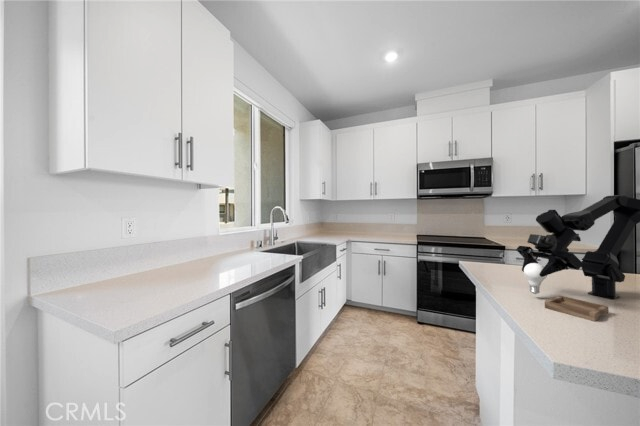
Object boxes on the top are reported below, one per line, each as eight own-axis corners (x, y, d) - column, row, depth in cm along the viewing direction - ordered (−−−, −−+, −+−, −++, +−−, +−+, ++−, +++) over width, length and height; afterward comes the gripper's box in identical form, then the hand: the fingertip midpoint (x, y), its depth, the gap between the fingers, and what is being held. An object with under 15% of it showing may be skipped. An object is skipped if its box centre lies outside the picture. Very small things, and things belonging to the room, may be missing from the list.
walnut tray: (559, 302, 83) (559, 295, 83) (608, 313, 73) (608, 306, 73) (544, 307, 78) (544, 301, 78) (594, 321, 68) (594, 313, 68)
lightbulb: (521, 288, 91) (522, 260, 90) (544, 292, 87) (545, 262, 87) (523, 294, 86) (525, 263, 85) (548, 298, 82) (549, 266, 82)
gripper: (519, 225, 96) (494, 253, 95) (573, 228, 77) (543, 263, 76) (538, 244, 97) (513, 273, 96) (595, 251, 78) (565, 287, 77)
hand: (531, 273), depth 86 cm, fingers closed on lightbulb, 6 cm apart
